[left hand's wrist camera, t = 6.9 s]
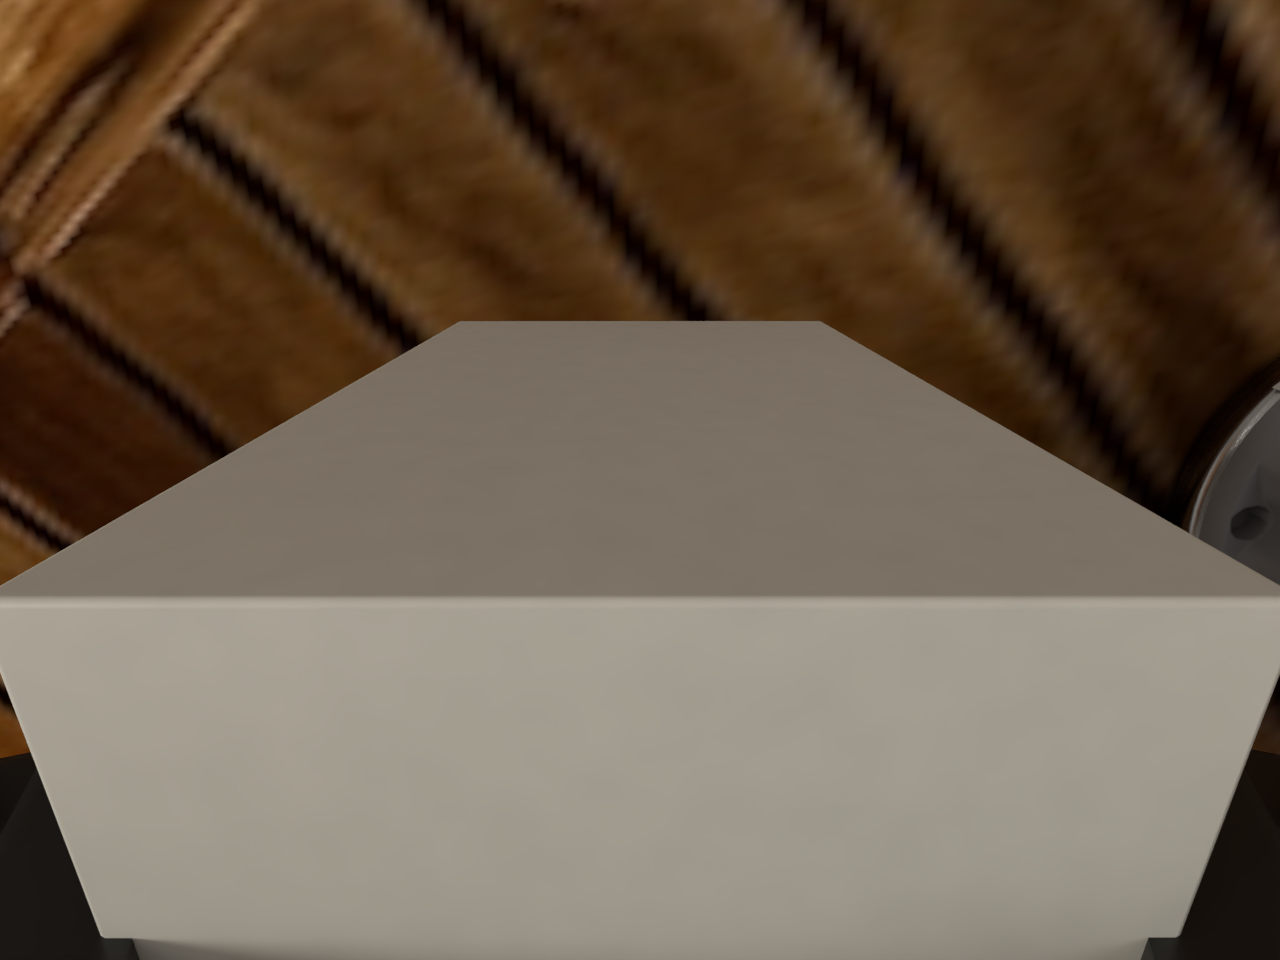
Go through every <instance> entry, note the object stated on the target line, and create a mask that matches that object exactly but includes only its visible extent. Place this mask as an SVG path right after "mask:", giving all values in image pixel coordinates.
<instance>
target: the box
mask: <svg viewBox="0 0 1280 960" xmlns="http://www.w3.org/2000/svg"><path fill="white" fill-rule="evenodd" d="M0 673H1V675H2V678H3V681H4V683H5V686H6V688H7V691H8V694H9V696H10V699H11V702H12V704H13V707H14V709H15V712H16V715H17V717H18V720H19V723H20V725H21V728H22V730H23V733H24V736H25V738H26V741H27V744H28V746H29V749H30V751H31V754H32V757H33V759H34V762H35V765H36V767H37V770H38V772H39V775H40V778H41V780H42V783H43V785H44V788H45V791H46V793H47V796H48V799H49V801H50V804H51V806H52V809H53V812H54V814H55V817H56V820H57V822H58V825H59V827H60V830H61V833H62V835H63V838H64V841H65V843H66V846H67V848H68V851H69V854H70V856H71V859H72V862H73V864H74V867H75V869H76V872H77V875H78V877H79V880H80V883H81V885H82V888H83V890H84V893H85V896H86V898H87V901H88V904H89V906H90V909H91V911H92V914H93V917H94V919H95V922H96V924H97V927H98V930H99V932H100V935H101V936H102V937H104V938H132V940H133V942H134V945H135V948H136V951H137V954H138V956H139V959H140V960H1141V957H1142V954H1143V951H1144V949H1145V946H1146V943H1147V940H1148V937H1178V936H1179V935H1180V934H1181V932H1182V929H1183V927H1184V924H1185V921H1186V919H1187V916H1188V914H1189V911H1190V908H1191V906H1192V903H1193V900H1194V898H1195V895H1196V893H1197V890H1198V887H1199V885H1200V882H1201V879H1202V877H1203V874H1204V872H1205V869H1206V866H1207V864H1208V861H1209V858H1210V856H1211V853H1212V851H1213V848H1214V845H1215V843H1216V840H1217V837H1218V835H1219V832H1220V830H1221V827H1222V824H1223V822H1224V819H1225V816H1226V814H1227V811H1228V809H1229V806H1230V803H1231V801H1232V798H1233V795H1234V793H1235V790H1236V788H1237V785H1238V782H1239V780H1240V777H1241V774H1242V772H1243V769H1244V767H1245V764H1246V761H1247V759H1248V756H1249V753H1250V751H1251V748H1252V746H1253V743H1254V740H1255V738H1256V735H1257V732H1258V730H1259V727H1260V725H1261V722H1262V719H1263V717H1264V714H1265V711H1266V709H1267V706H1268V704H1269V701H1270V698H1271V696H1272V693H1273V690H1274V688H1275V685H1276V683H1277V680H1278V677H1279V675H1280V585H1278V584H1276V583H1275V582H1273V581H1271V580H1269V579H1268V578H1266V577H1264V576H1262V575H1261V574H1259V573H1257V572H1256V571H1254V570H1252V569H1250V568H1249V567H1247V566H1245V565H1243V564H1242V563H1240V562H1238V561H1236V560H1235V559H1233V558H1231V557H1229V556H1228V555H1226V554H1224V553H1222V552H1221V551H1219V550H1217V549H1216V548H1214V547H1212V546H1210V545H1209V544H1207V543H1205V542H1203V541H1202V540H1200V539H1198V538H1196V537H1195V536H1193V535H1191V534H1189V533H1188V532H1186V531H1184V530H1182V529H1181V528H1179V527H1177V526H1175V525H1174V524H1172V523H1170V522H1169V521H1167V520H1165V519H1163V518H1162V517H1160V516H1158V515H1156V514H1155V513H1153V512H1151V511H1149V510H1148V509H1146V508H1144V507H1142V506H1141V505H1139V504H1137V503H1135V502H1134V501H1132V500H1130V499H1129V498H1127V497H1125V496H1123V495H1122V494H1120V493H1118V492H1116V491H1115V490H1113V489H1111V488H1109V487H1108V486H1106V485H1104V484H1102V483H1101V482H1099V481H1097V480H1095V479H1094V478H1092V477H1090V476H1089V475H1087V474H1085V473H1083V472H1082V471H1080V470H1078V469H1076V468H1075V467H1073V466H1071V465H1069V464H1068V463H1066V462H1064V461H1062V460H1061V459H1059V458H1057V457H1055V456H1054V455H1052V454H1050V453H1049V452H1047V451H1045V450H1043V449H1042V448H1040V447H1038V446H1036V445H1035V444H1033V443H1031V442H1029V441H1028V440H1026V439H1024V438H1022V437H1021V436H1019V435H1017V434H1015V433H1014V432H1012V431H1010V430H1009V429H1007V428H1005V427H1003V426H1002V425H1000V424H998V423H996V422H995V421H993V420H991V419H989V418H988V417H986V416H984V415H982V414H981V413H979V412H977V411H975V410H974V409H972V408H970V407H969V406H967V405H965V404H963V403H962V402H960V401H958V400H956V399H955V398H953V397H951V396H949V395H948V394H946V393H944V392H942V391H941V390H939V389H937V388H935V387H934V386H932V385H930V384H929V383H927V382H925V381H923V380H922V379H920V378H918V377H916V376H915V375H913V374H911V373H909V372H908V371H906V370H904V369H902V368H901V367H899V366H897V365H895V364H894V363H892V362H890V361H889V360H887V359H885V358H883V357H882V356H880V355H878V354H876V353H875V352H873V351H871V350H869V349H868V348H866V347H864V346H862V345H861V344H859V343H857V342H855V341H854V340H852V339H850V338H848V337H847V336H845V335H843V334H842V333H840V332H838V331H836V330H835V329H833V328H831V327H829V326H828V325H826V324H824V323H822V322H820V321H460V322H458V323H456V324H455V325H453V326H451V327H450V328H448V329H446V330H444V331H443V332H441V333H439V334H437V335H436V336H434V337H432V338H430V339H429V340H427V341H425V342H423V343H422V344H420V345H418V346H416V347H415V348H413V349H411V350H410V351H408V352H406V353H404V354H403V355H401V356H399V357H397V358H396V359H394V360H392V361H390V362H389V363H387V364H385V365H383V366H382V367H380V368H378V369H377V370H375V371H373V372H371V373H370V374H368V375H366V376H364V377H363V378H361V379H359V380H357V381H356V382H354V383H352V384H350V385H349V386H347V387H345V388H344V389H342V390H340V391H338V392H337V393H335V394H333V395H331V396H330V397H328V398H326V399H324V400H323V401H321V402H319V403H317V404H316V405H314V406H312V407H310V408H309V409H307V410H305V411H304V412H302V413H300V414H298V415H297V416H295V417H293V418H291V419H290V420H288V421H286V422H284V423H283V424H281V425H279V426H277V427H276V428H274V429H272V430H271V431H269V432H267V433H265V434H264V435H262V436H260V437H258V438H257V439H255V440H253V441H251V442H250V443H248V444H246V445H244V446H243V447H241V448H239V449H237V450H236V451H234V452H232V453H231V454H229V455H227V456H225V457H224V458H222V459H220V460H218V461H217V462H215V463H213V464H211V465H210V466H208V467H206V468H204V469H203V470H201V471H199V472H198V473H196V474H194V475H192V476H191V477H189V478H187V479H185V480H184V481H182V482H180V483H178V484H177V485H175V486H173V487H171V488H170V489H168V490H166V491H164V492H163V493H161V494H159V495H158V496H156V497H154V498H152V499H151V500H149V501H147V502H145V503H144V504H142V505H140V506H138V507H137V508H135V509H133V510H131V511H130V512H128V513H126V514H125V515H123V516H121V517H119V518H118V519H116V520H114V521H112V522H111V523H109V524H107V525H105V526H104V527H102V528H100V529H98V530H97V531H95V532H93V533H91V534H90V535H88V536H86V537H85V538H83V539H81V540H79V541H78V542H76V543H74V544H72V545H71V546H69V547H67V548H65V549H64V550H62V551H60V552H58V553H57V554H55V555H53V556H52V557H50V558H48V559H46V560H45V561H43V562H41V563H39V564H38V565H36V566H34V567H32V568H31V569H29V570H27V571H25V572H24V573H22V574H20V575H18V576H17V577H15V578H13V579H12V580H10V581H8V582H6V583H5V584H3V585H1V586H0Z"/></svg>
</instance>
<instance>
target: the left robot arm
mask: <svg viewBox="0 0 1280 960" xmlns="http://www.w3.org/2000/svg"><path fill="white" fill-rule="evenodd" d="M1168 521H1169V522H1170V523H1172V524H1174V525H1175V526H1177V527H1179V528H1181V529H1182V530H1184V531H1186V532H1188V533H1189V534H1191V535H1193V536H1195V537H1196V538H1198V539H1200V540H1202V541H1203V542H1205V543H1207V544H1209V545H1210V546H1212V547H1214V548H1216V549H1217V550H1219V551H1221V552H1222V553H1224V554H1226V555H1228V556H1229V557H1231V558H1233V559H1235V560H1236V561H1238V562H1240V563H1242V564H1243V565H1245V566H1247V567H1249V568H1250V569H1252V570H1254V571H1256V572H1257V573H1259V574H1261V575H1262V576H1264V577H1266V578H1268V579H1269V580H1271V581H1273V582H1275V583H1276V584H1278V585H1280V357H1279V358H1278V359H1276V360H1275V361H1273V362H1272V363H1271V364H1270V365H1269V366H1267V367H1266V368H1265V369H1264V370H1262V371H1261V372H1260V373H1259V374H1257V375H1256V376H1255V377H1254V378H1253V379H1252V380H1251V381H1250V382H1249V383H1248V384H1246V385H1245V386H1244V387H1243V388H1242V389H1241V390H1240V391H1239V392H1238V393H1237V394H1236V395H1235V396H1234V397H1233V398H1232V400H1231V401H1230V402H1229V403H1228V404H1227V405H1226V406H1225V407H1224V408H1223V409H1222V411H1221V412H1220V413H1219V414H1218V416H1217V417H1216V418H1215V420H1214V421H1213V422H1212V423H1211V425H1210V426H1209V427H1208V429H1207V430H1206V432H1205V433H1204V435H1203V436H1202V438H1201V439H1200V441H1199V442H1198V444H1197V446H1196V447H1195V449H1194V451H1193V453H1192V455H1191V456H1190V458H1189V460H1188V462H1187V464H1186V466H1185V468H1184V471H1183V473H1182V475H1181V477H1180V480H1179V482H1178V485H1177V488H1176V491H1175V494H1174V497H1173V501H1172V505H1171V509H1170V514H1169V520H1168ZM1279 676H1280V675H1279ZM0 960H140V959H139V956H138V954H137V951H136V948H135V945H134V942H133V940H132V938H104V937H102V936H101V935H100V932H99V930H98V927H97V924H96V922H95V919H94V917H93V914H92V911H91V909H90V906H89V904H88V901H87V898H86V896H85V893H84V890H83V888H82V885H81V883H80V880H79V877H78V875H77V872H76V869H75V867H74V864H73V862H72V859H71V856H70V854H69V851H68V848H67V846H66V843H65V841H64V838H63V835H62V833H61V830H60V827H59V825H58V822H57V820H56V817H55V814H54V812H53V809H52V806H51V804H50V801H49V799H48V796H47V793H46V791H45V788H44V785H43V783H42V780H41V778H40V775H39V772H38V770H37V767H36V765H35V762H34V759H33V757H32V754H31V752H30V753H25V754H20V755H15V756H10V757H5V758H0ZM1141 960H1280V755H1277V754H1272V753H1267V752H1262V751H1257V750H1252V749H1251V751H1250V753H1249V756H1248V759H1247V761H1246V764H1245V767H1244V769H1243V772H1242V774H1241V777H1240V780H1239V782H1238V785H1237V788H1236V790H1235V793H1234V795H1233V798H1232V801H1231V803H1230V806H1229V809H1228V811H1227V814H1226V816H1225V819H1224V822H1223V824H1222V827H1221V830H1220V832H1219V835H1218V837H1217V840H1216V843H1215V845H1214V848H1213V851H1212V853H1211V856H1210V858H1209V861H1208V864H1207V866H1206V869H1205V872H1204V874H1203V877H1202V879H1201V882H1200V885H1199V887H1198V890H1197V893H1196V895H1195V898H1194V900H1193V903H1192V906H1191V908H1190V911H1189V914H1188V916H1187V919H1186V921H1185V924H1184V927H1183V929H1182V932H1181V934H1180V935H1179V936H1178V937H1148V940H1147V943H1146V946H1145V949H1144V951H1143V954H1142V957H1141Z"/></svg>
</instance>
